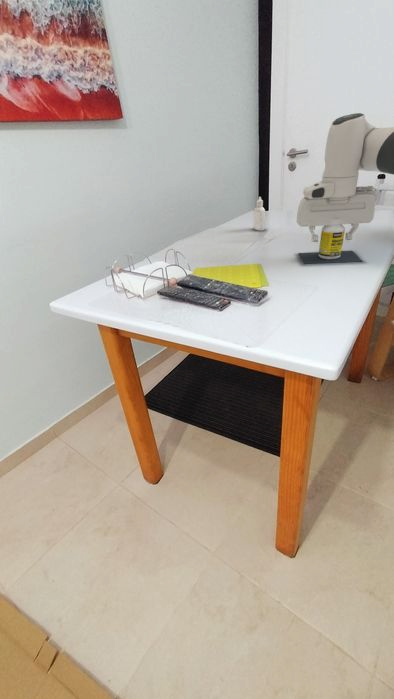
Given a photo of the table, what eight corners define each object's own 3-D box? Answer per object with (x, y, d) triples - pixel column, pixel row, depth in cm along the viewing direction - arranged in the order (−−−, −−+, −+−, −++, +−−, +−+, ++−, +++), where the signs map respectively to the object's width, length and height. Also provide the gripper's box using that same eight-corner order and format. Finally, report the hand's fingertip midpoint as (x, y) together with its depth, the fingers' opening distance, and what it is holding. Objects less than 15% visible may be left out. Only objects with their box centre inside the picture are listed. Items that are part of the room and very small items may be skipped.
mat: (351, 251, 103) (352, 250, 103) (362, 261, 95) (362, 261, 95) (298, 253, 105) (298, 253, 105) (304, 264, 97) (304, 263, 97)
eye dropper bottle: (253, 231, 133) (253, 198, 126) (253, 227, 137) (254, 196, 131) (264, 230, 132) (265, 197, 126) (264, 227, 137) (265, 195, 130)
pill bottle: (330, 261, 96) (336, 221, 90) (313, 256, 101) (318, 218, 95) (345, 256, 99) (351, 217, 93) (327, 252, 103) (333, 214, 98)
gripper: (375, 183, 91) (365, 235, 99) (297, 189, 94) (293, 239, 101) (383, 186, 86) (372, 241, 93) (301, 192, 88) (297, 245, 96)
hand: (331, 240), depth 97 cm, fingers open, 8 cm apart
